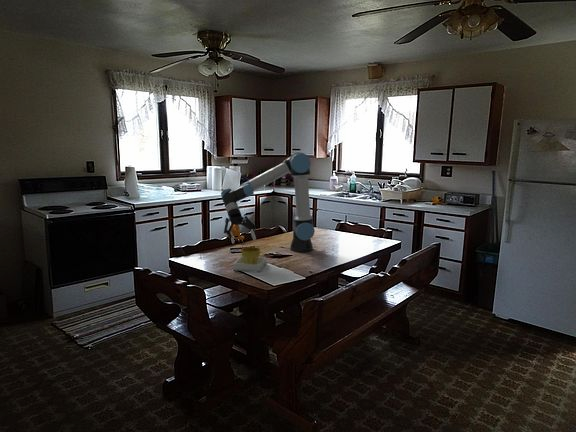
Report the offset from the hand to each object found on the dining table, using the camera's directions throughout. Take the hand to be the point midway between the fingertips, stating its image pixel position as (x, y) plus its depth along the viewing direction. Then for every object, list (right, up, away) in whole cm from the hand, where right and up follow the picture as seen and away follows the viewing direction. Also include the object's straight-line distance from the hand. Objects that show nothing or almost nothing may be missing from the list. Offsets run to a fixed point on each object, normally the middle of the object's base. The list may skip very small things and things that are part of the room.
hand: (244, 240), depth 233 cm
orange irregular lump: (-13, -4, +59) cm, 61 cm away
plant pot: (+4, -14, -3) cm, 15 cm away
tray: (+4, -15, -3) cm, 16 cm away
